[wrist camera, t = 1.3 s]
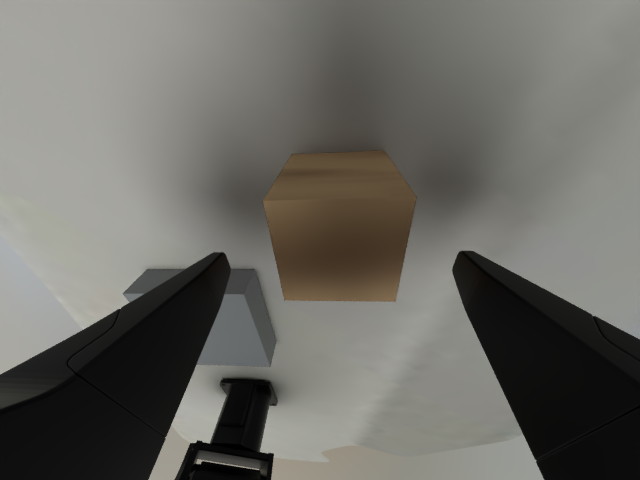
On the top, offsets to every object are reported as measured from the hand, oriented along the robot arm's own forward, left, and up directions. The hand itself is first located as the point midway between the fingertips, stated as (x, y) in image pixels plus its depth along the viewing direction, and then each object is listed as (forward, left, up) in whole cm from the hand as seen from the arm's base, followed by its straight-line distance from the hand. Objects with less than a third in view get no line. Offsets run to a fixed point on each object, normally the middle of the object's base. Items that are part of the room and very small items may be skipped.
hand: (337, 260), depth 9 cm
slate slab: (-11, +11, -6) cm, 17 cm away
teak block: (0, 0, -6) cm, 6 cm away
